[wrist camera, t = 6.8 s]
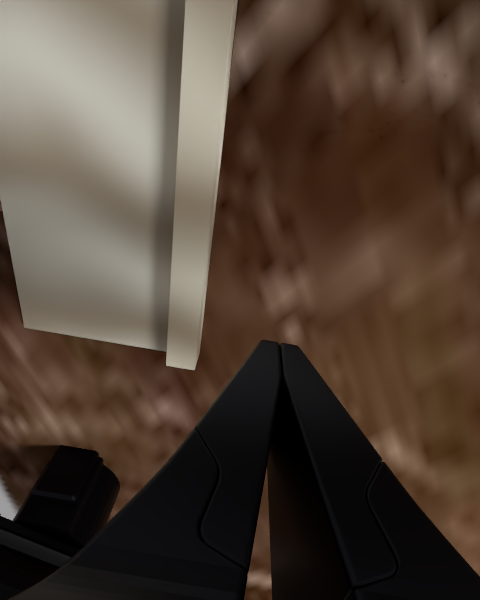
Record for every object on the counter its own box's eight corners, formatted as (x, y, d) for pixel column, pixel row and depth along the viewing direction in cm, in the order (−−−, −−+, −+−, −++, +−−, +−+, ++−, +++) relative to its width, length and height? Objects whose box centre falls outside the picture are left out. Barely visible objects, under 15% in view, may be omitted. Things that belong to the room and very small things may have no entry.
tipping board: (199, 352, 21) (194, 370, 20) (28, 323, 21) (12, 339, 20) (240, -14, 13) (235, -25, 11) (-40, -60, 13) (-76, -76, 11)
